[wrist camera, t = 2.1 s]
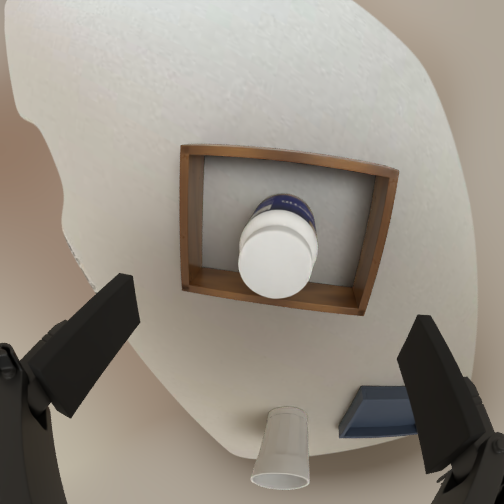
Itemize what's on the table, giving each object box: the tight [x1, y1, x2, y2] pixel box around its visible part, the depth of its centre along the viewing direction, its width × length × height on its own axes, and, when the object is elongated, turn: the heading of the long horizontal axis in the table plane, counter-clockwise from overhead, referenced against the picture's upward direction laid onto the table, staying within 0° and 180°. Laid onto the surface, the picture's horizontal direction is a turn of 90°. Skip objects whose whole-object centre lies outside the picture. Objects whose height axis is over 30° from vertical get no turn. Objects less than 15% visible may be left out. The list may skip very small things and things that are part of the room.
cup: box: [251, 407, 310, 490], centre depth 33 cm, size 8×8×12 cm
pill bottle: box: [238, 194, 318, 299], centre depth 22 cm, size 6×6×10 cm
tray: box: [339, 386, 418, 438], centre depth 33 cm, size 15×11×3 cm
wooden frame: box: [180, 144, 399, 316], centre depth 24 cm, size 18×14×4 cm
